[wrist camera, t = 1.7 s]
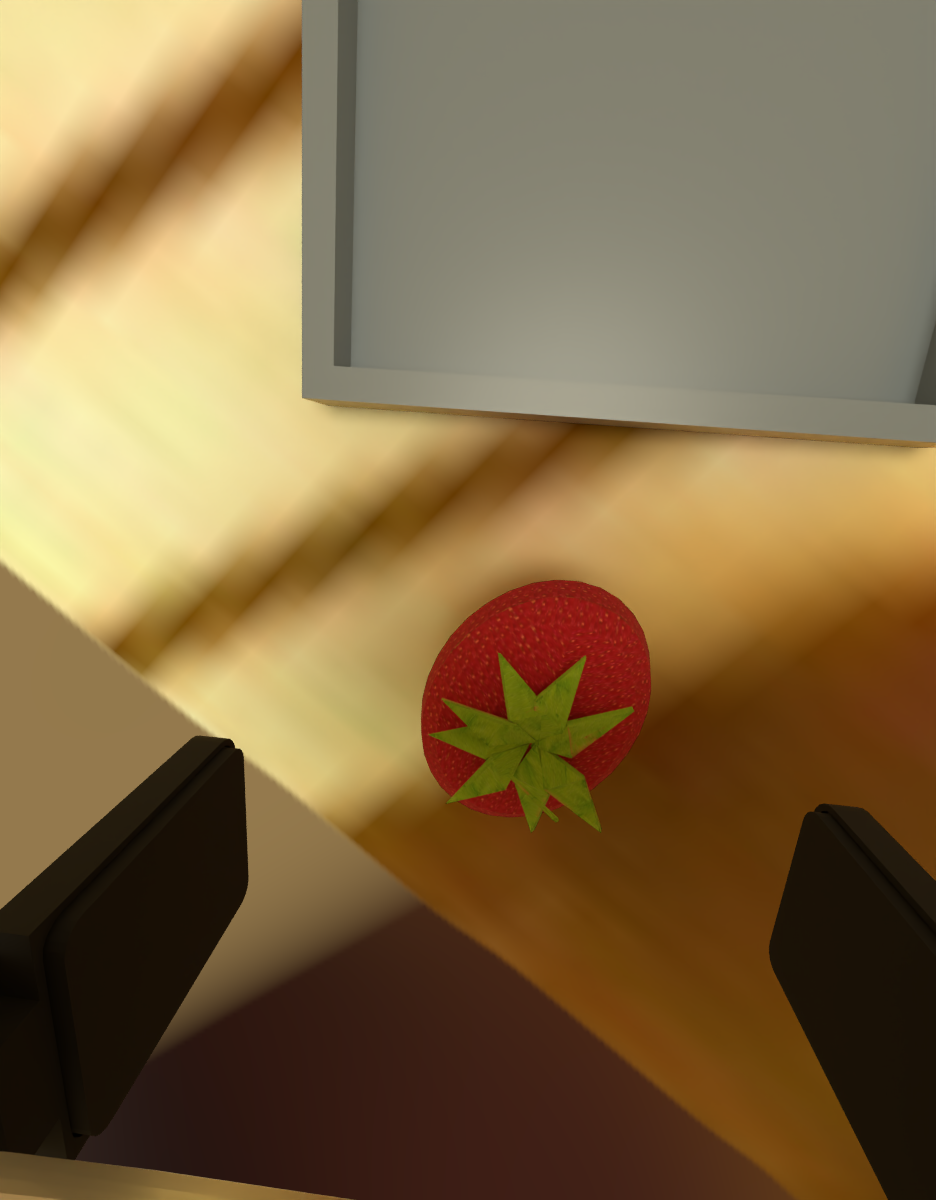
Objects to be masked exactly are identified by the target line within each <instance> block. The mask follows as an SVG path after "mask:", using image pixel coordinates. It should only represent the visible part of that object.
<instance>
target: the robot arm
mask: <svg viewBox="0 0 936 1200" xmlns="http://www.w3.org/2000/svg"><path fill="white" fill-rule="evenodd" d="M247 886H248V854H247V829H246V804H245V778H244V756H243V752H242V750H241V749H237V748H235V745H234V743H233V741H232V740H231V739H226V738H217V737H207V736H195V737H193V738H192V739H191V740H189V741H188V742H187V743H186V744H185V745H184V746H183V747H182V748H180V749H179V750H178V751H177V752H176V753H175V754H174V755H173V756H172V757H171V758H169V759H168V760H167V761H166V762H165V763H164V764H163V765H161V766H160V767H159V768H158V769H157V770H156V771H155V772H154V773H153V774H151V775H150V776H149V777H148V778H147V779H146V780H145V781H144V782H143V783H141V784H140V785H139V786H138V787H137V788H136V789H135V790H134V791H133V792H131V793H130V794H129V795H128V796H127V797H126V798H125V799H123V800H122V801H121V802H120V803H119V804H118V805H117V806H116V807H115V808H113V809H112V810H111V811H110V812H109V813H108V814H107V815H106V816H104V817H103V819H101V820H100V821H99V822H98V823H97V824H96V825H94V826H93V827H92V828H91V829H90V830H89V831H88V832H87V833H86V834H84V835H83V836H82V837H81V838H80V839H79V840H78V841H77V842H75V843H74V844H73V845H72V846H71V847H70V848H69V849H68V850H67V851H65V852H64V853H63V854H62V855H61V856H60V857H59V858H58V859H56V860H55V861H54V862H53V863H52V864H51V865H50V866H49V867H47V868H46V869H45V870H44V871H43V872H42V873H41V874H40V875H39V876H37V877H36V878H35V879H34V880H33V881H32V882H31V883H30V884H29V885H27V886H26V887H25V888H24V889H23V890H22V891H21V892H20V893H18V894H17V895H16V896H15V897H14V898H13V899H12V900H11V901H10V902H8V903H7V904H6V905H5V906H4V907H3V908H2V909H1V910H0V1200H351V1199H344V1198H337V1197H331V1196H323V1195H317V1194H311V1193H304V1192H297V1191H290V1190H283V1189H277V1188H270V1187H263V1186H256V1185H250V1184H243V1183H237V1182H230V1181H223V1180H216V1179H210V1178H202V1177H196V1176H190V1175H182V1174H176V1173H169V1172H163V1171H156V1170H148V1169H140V1168H132V1167H124V1166H116V1165H108V1164H100V1163H92V1162H84V1161H76V1160H75V1159H76V1157H77V1155H78V1154H79V1152H80V1151H81V1149H82V1147H83V1146H84V1144H85V1143H86V1141H87V1139H88V1138H89V1136H90V1135H91V1136H97V1135H99V1134H101V1133H102V1132H103V1131H104V1129H105V1128H106V1127H107V1126H108V1124H109V1123H110V1121H111V1120H112V1119H113V1117H114V1115H115V1114H116V1112H117V1110H118V1109H119V1107H120V1105H121V1103H122V1102H123V1100H124V1098H125V1097H126V1095H127V1094H128V1092H129V1090H130V1089H131V1087H132V1085H133V1084H134V1081H135V1080H136V1078H137V1077H138V1075H139V1074H140V1072H141V1070H142V1069H143V1067H144V1065H145V1063H146V1062H147V1060H148V1059H149V1057H150V1055H151V1054H152V1052H153V1050H154V1048H155V1047H156V1045H157V1044H158V1042H159V1040H160V1039H161V1037H162V1035H163V1033H164V1032H165V1030H166V1029H167V1027H168V1025H169V1023H170V1022H171V1020H172V1018H173V1017H174V1015H175V1014H176V1012H177V1010H178V1009H179V1007H180V1005H181V1004H182V1002H183V1000H184V998H185V997H186V995H187V994H188V992H189V990H190V989H191V987H192V985H193V984H194V982H195V980H196V979H197V977H198V975H199V974H200V972H201V970H202V968H203V967H204V965H205V963H206V962H207V960H208V958H209V957H210V955H211V954H212V952H213V950H214V949H215V947H216V945H217V944H218V942H219V940H220V938H221V937H222V935H223V934H224V932H225V930H226V929H227V927H228V925H229V924H230V922H231V920H232V918H233V917H234V915H235V914H236V912H237V910H238V909H239V907H240V905H241V903H242V901H243V899H244V897H245V894H246V891H247ZM769 955H770V961H771V965H772V968H773V970H774V973H775V975H776V977H777V979H778V980H779V982H780V984H781V986H782V988H783V990H784V992H785V994H786V996H787V998H788V1000H789V1002H790V1004H791V1006H792V1008H793V1010H794V1012H795V1014H796V1016H797V1018H798V1020H799V1022H800V1024H801V1026H802V1028H803V1030H804V1032H805V1034H806V1036H807V1038H808V1040H809V1042H810V1044H811V1046H812V1048H813V1050H814V1052H815V1054H816V1056H817V1058H818V1060H819V1062H820V1064H821V1066H822V1068H823V1070H824V1072H825V1074H826V1076H827V1078H828V1080H829V1082H830V1084H831V1086H832V1088H833V1090H834V1092H835V1094H836V1096H837V1098H838V1100H839V1102H840V1104H841V1106H842V1108H843V1110H844V1112H845V1114H846V1116H847V1118H848V1120H849V1122H850V1124H851V1126H852V1128H853V1130H854V1132H855V1134H856V1136H857V1138H858V1140H859V1142H860V1144H861V1146H862V1148H863V1150H864V1152H865V1154H866V1156H867V1158H868V1160H869V1162H870V1164H871V1166H872V1168H873V1170H874V1172H875V1174H876V1176H877V1178H878V1180H879V1182H880V1184H881V1186H882V1188H883V1190H884V1192H885V1194H886V1196H887V1198H888V1200H936V881H935V880H934V879H933V878H932V877H931V876H930V875H929V874H928V873H927V872H926V871H925V870H924V869H923V868H922V867H921V866H920V865H919V864H918V863H917V862H916V861H915V860H914V859H913V858H912V857H911V856H910V855H909V854H908V852H907V851H906V850H905V849H904V848H903V847H902V846H901V845H900V844H899V843H898V842H897V841H896V840H895V839H894V838H893V837H892V836H891V835H890V834H889V833H888V832H887V831H886V830H885V829H884V828H883V827H882V826H881V825H880V824H879V823H878V822H877V821H876V820H875V819H874V818H873V817H872V816H871V815H870V814H869V813H868V812H867V811H866V810H864V809H862V808H858V807H850V806H841V805H832V804H821V805H819V806H818V807H817V808H816V809H815V811H814V812H808V813H807V814H806V815H805V817H804V819H803V823H802V826H801V830H800V834H799V837H798V841H797V845H796V848H795V852H794V856H793V859H792V863H791V867H790V870H789V874H788V878H787V881H786V885H785V889H784V892H783V896H782V900H781V903H780V907H779V911H778V914H777V918H776V922H775V925H774V929H773V932H772V936H771V940H770V945H769Z"/></svg>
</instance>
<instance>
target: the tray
mask: <svg viewBox="0 0 936 1200" xmlns="http://www.w3.org/2000/svg"><path fill="white" fill-rule="evenodd" d="M302 398H304V399H308V400H311V401H315V402H318V403H322V404H325V405H329V406H340V407H354V408H368V409H383V410H397V411H411V412H425V413H439V414H453V415H467V416H481V417H495V418H509V419H523V420H537V421H551V422H565V423H579V424H593V425H607V426H621V427H635V428H649V429H663V430H677V431H691V432H705V433H719V434H733V435H747V436H761V437H776V438H790V439H804V440H818V441H832V442H846V443H860V444H874V445H888V446H902V447H916V448H927V447H936V0H302Z"/></svg>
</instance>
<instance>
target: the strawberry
mask: <svg viewBox="0 0 936 1200" xmlns="http://www.w3.org/2000/svg"><path fill="white" fill-rule="evenodd" d="M650 694H651V675H650V658H649V650H648V646H647V642H646V639H645V635H644V632H643V630H642V628H641V626H640V624H639V623H638V621H637V619H636V617H635V616H634V614H633V613H632V612H631V611H630V610H629V609H628V608H627V607H626V606H625V605H624V604H623V603H622V601H621V600H620V599H618V598H617V597H615V596H613V595H612V594H610V593H608V592H607V591H605V590H603V589H602V588H599V587H596V586H593V585H589V584H586V583H583V582H579V581H565V580H552V581H545V582H537V583H532V584H529V585H526V586H523V587H520V588H517V589H514V590H511V591H508V592H507V593H505V594H503V595H501V596H499V597H497V598H495V599H493V600H492V601H490V602H488V603H486V604H485V605H484V606H483V607H481V608H480V609H479V610H477V611H476V612H475V613H473V614H472V615H471V616H470V617H468V618H467V619H466V620H465V621H464V622H463V624H462V625H461V626H460V627H459V628H458V629H457V630H456V631H455V632H454V633H453V634H452V635H451V636H450V638H449V639H448V641H447V642H446V644H445V645H444V647H443V648H442V650H441V651H440V653H439V654H438V656H437V658H436V660H435V662H434V665H433V667H432V669H431V671H430V673H429V675H428V679H427V682H426V686H425V690H424V694H423V698H422V713H421V735H422V742H423V749H424V755H425V757H426V760H427V763H428V765H429V768H430V771H431V773H432V774H433V776H434V777H435V779H436V780H437V782H438V783H439V785H440V786H441V788H443V789H444V790H445V791H446V792H447V793H448V794H449V795H450V796H451V798H450V799H449V800H448V801H447V803H452V802H456V801H458V802H459V803H461V804H463V805H465V806H466V807H468V808H470V809H472V810H475V811H478V812H481V813H484V814H488V815H493V816H502V817H521V816H526V819H527V822H528V825H529V828H530V831H531V832H532V831H534V829H535V827H536V825H537V823H538V821H539V818H540V816H541V814H542V813H544V812H545V813H546V814H547V815H548V816H549V817H550V818H551V819H552V820H553V821H555V822H558V821H559V820H558V817H556V816H555V815H554V814H553V813H552V812H551V811H552V810H554V809H557V808H559V807H561V806H564V805H565V806H566V807H567V808H569V809H570V810H571V811H573V812H574V813H575V814H577V815H578V816H579V817H580V818H582V819H583V820H584V821H586V822H587V823H588V824H590V825H591V826H592V827H594V828H595V829H596V830H598V831H599V832H600V833H601V830H602V828H601V825H600V822H599V819H598V816H597V813H596V810H595V807H594V804H593V801H592V798H591V795H590V792H589V791H590V790H592V789H594V788H595V787H596V786H597V785H598V784H599V783H601V782H602V781H603V780H604V779H605V778H606V777H607V776H609V775H610V774H611V773H612V772H613V771H614V769H615V768H616V767H617V766H618V765H619V763H620V762H621V761H622V760H623V759H624V757H625V756H626V755H627V754H628V752H629V750H630V749H631V747H632V745H633V744H634V742H635V740H636V739H637V737H638V735H639V733H640V730H641V728H642V725H643V722H644V720H645V717H646V715H647V711H648V705H649V700H650ZM447 803H446V804H447Z"/></svg>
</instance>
